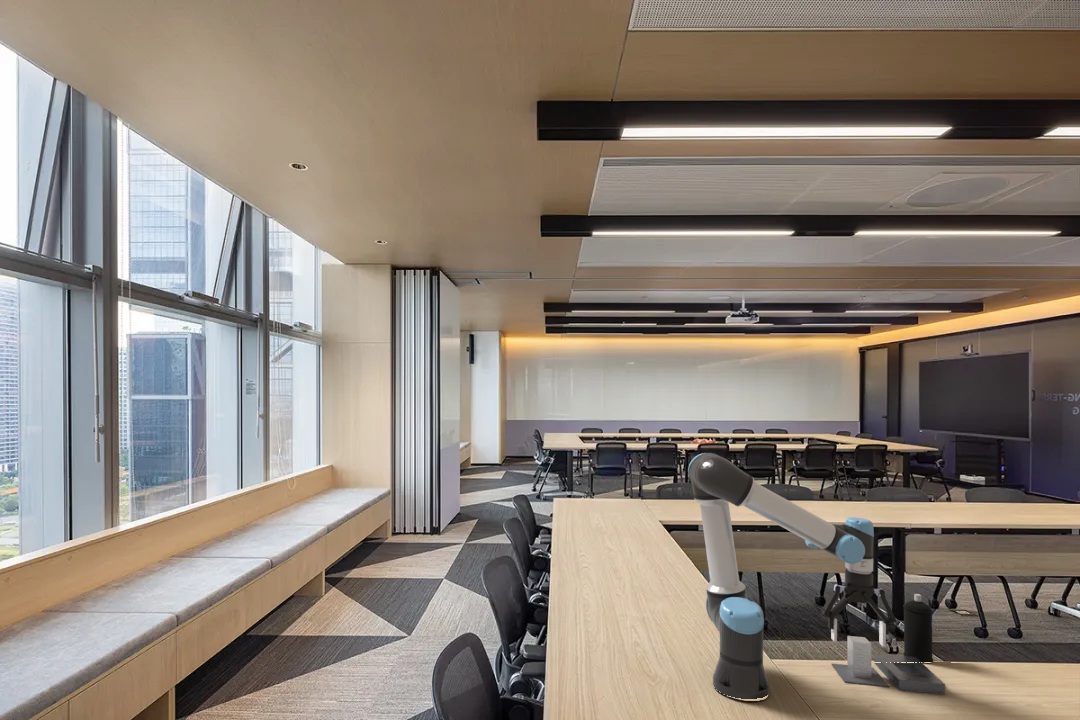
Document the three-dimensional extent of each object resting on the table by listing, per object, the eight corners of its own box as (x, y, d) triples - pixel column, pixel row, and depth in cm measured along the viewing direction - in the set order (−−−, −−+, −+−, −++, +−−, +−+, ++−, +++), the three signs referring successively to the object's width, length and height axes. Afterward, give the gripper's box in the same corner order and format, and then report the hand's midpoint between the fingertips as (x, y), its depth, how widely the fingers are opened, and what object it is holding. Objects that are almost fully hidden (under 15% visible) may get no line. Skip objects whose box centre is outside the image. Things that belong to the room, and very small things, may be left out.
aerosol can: (919, 664, 189) (918, 599, 190) (897, 653, 197) (896, 591, 198) (939, 662, 191) (939, 598, 192) (917, 651, 199) (916, 590, 200)
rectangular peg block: (853, 677, 178) (853, 642, 179) (847, 669, 183) (847, 635, 183) (871, 678, 177) (871, 643, 178) (865, 671, 182) (865, 637, 183)
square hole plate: (898, 690, 171) (898, 679, 171) (874, 663, 189) (874, 653, 189) (944, 694, 169) (944, 683, 170) (915, 666, 187) (915, 657, 187)
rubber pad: (844, 682, 175) (844, 681, 175) (831, 664, 187) (831, 663, 187) (889, 687, 173) (889, 685, 173) (872, 668, 185) (872, 667, 185)
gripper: (819, 570, 180) (817, 642, 179) (909, 578, 176) (908, 652, 175) (811, 563, 187) (810, 633, 186) (898, 570, 184) (897, 642, 182)
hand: (858, 642), depth 181 cm, fingers open, 13 cm apart
